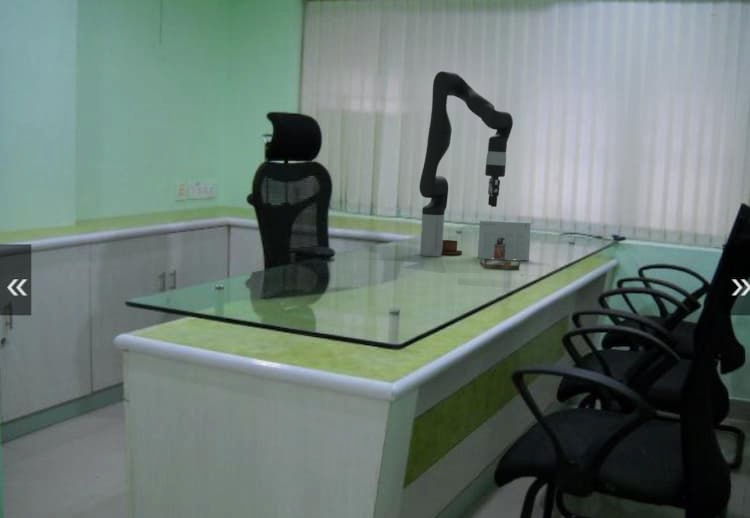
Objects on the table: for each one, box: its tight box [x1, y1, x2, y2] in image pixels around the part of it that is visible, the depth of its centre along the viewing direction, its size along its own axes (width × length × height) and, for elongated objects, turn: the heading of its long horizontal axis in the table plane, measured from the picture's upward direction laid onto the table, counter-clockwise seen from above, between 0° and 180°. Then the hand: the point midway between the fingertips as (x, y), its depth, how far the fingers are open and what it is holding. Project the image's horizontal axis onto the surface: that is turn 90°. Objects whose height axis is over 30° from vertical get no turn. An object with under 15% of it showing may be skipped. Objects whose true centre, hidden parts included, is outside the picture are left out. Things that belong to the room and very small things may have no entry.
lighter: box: [494, 237, 506, 259], centre depth 315 cm, size 8×3×10 cm, turn 152°
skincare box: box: [477, 220, 532, 262], centre depth 343 cm, size 21×5×16 cm, turn 84°
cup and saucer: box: [442, 239, 463, 256], centre depth 351 cm, size 12×12×6 cm
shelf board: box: [479, 258, 521, 271], centre depth 315 cm, size 13×17×4 cm
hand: (492, 205), depth 318 cm, fingers open, 8 cm apart
